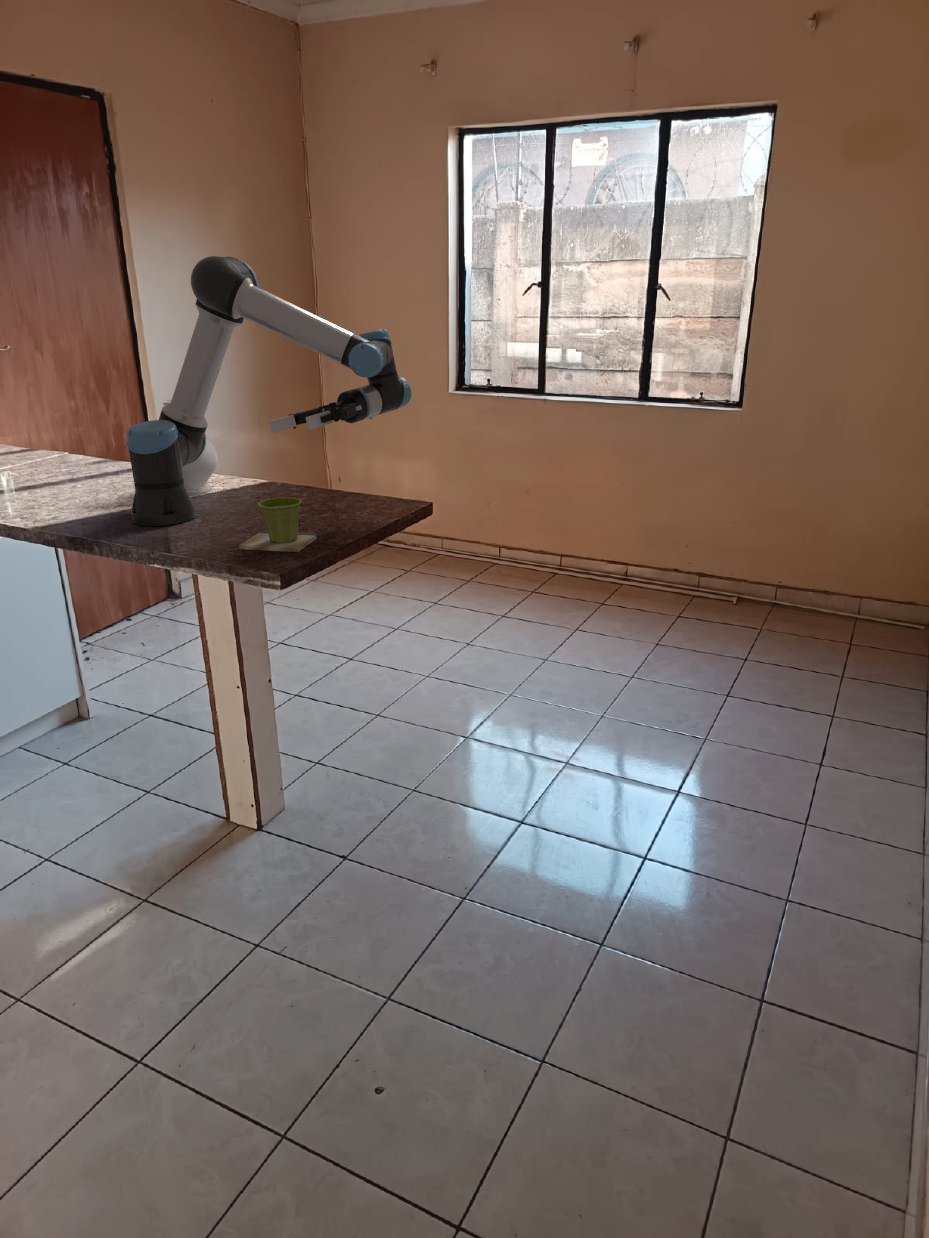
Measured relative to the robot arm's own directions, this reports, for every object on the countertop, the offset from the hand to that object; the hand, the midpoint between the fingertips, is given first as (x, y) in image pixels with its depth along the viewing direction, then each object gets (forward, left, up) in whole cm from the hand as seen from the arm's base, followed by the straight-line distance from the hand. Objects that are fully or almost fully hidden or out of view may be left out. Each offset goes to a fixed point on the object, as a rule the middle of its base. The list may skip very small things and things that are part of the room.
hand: (289, 425), depth 195 cm
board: (0, -10, -25) cm, 27 cm away
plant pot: (+1, -10, -24) cm, 26 cm away
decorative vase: (-48, +36, -25) cm, 65 cm away
